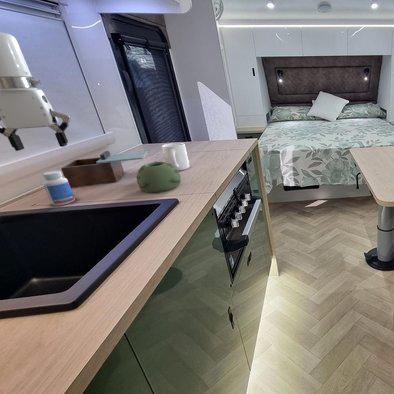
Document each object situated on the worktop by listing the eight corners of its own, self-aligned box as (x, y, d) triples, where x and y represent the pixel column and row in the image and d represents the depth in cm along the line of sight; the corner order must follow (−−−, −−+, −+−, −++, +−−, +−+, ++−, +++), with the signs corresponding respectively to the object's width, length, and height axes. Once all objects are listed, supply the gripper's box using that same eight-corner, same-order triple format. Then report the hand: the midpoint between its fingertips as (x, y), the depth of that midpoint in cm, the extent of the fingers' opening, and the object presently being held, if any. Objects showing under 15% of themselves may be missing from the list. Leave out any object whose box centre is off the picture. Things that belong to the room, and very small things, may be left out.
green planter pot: (184, 189, 100) (178, 165, 97) (139, 197, 94) (131, 171, 90) (179, 177, 113) (174, 155, 109) (140, 183, 106) (133, 160, 103)
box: (68, 187, 103) (60, 168, 100) (81, 177, 114) (74, 159, 111) (116, 181, 108) (110, 163, 106) (124, 172, 119) (118, 155, 116)
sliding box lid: (96, 163, 104) (94, 157, 103) (106, 155, 115) (104, 150, 114) (142, 159, 109) (140, 152, 109) (148, 152, 120) (146, 146, 119)
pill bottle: (80, 200, 92) (68, 170, 89) (60, 206, 87) (47, 175, 84) (67, 198, 94) (55, 169, 90) (47, 204, 89) (34, 174, 85)
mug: (188, 172, 119) (182, 147, 115) (164, 174, 116) (158, 149, 112) (190, 165, 129) (185, 142, 125) (169, 167, 126) (163, 143, 122)
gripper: (62, 83, 84) (84, 142, 91) (-21, 85, 77) (9, 148, 84) (50, 83, 78) (75, 146, 84) (-41, 86, 71) (-7, 154, 78)
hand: (42, 147), depth 84 cm, fingers open, 9 cm apart
